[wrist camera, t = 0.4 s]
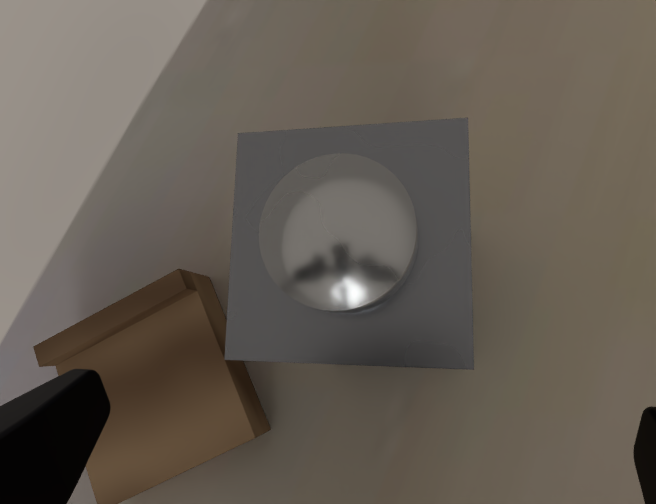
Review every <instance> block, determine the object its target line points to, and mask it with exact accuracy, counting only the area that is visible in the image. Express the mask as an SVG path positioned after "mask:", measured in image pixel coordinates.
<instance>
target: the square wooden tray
mask: <svg viewBox="0 0 656 504" xmlns="http://www.w3.org/2000/svg"><path fill="white" fill-rule="evenodd" d="M226 325H227V320H226V318H225V315H224V313H223V310H222V308H221V305H220V303H219V300H218V298H217V296H216V293H215V291H214V288H213V286H212V283H211V281H210V278H209V277H207V276H204V275H200V274H196V273H193V272H189V271H185V270H181V269H177V270H175V271H174V272H172V273H170V274H168V275H166V276H164V277H162V278H161V279H159V280H157V281H155V282H153V283H151V284H149V285H148V286H146V287H144V288H142V289H140V290H138V291H136V292H134V293H133V294H131V295H129V296H127V297H125V298H123V299H121V300H120V301H118V302H116V303H114V304H112V305H110V306H108V307H106V308H105V309H103V310H101V311H99V312H97V313H95V314H93V315H92V316H90V317H88V318H86V319H84V320H82V321H80V322H79V323H77V324H75V325H73V326H71V327H69V328H67V329H65V330H64V331H62V332H60V333H58V334H56V335H54V336H52V337H51V338H49V339H47V340H45V341H43V342H41V343H39V344H37V345H36V346H34V351H35V354H36V358H37V361H38V364H39V367H43V366H56V369H57V372H58V375H59V376H60V375H62V374H64V373H66V372H68V371H70V370H72V369H91V370H95V371H96V372H97V373H98V374H99V375H100V377H101V380H102V382H103V385H104V388H105V390H106V393H107V396H108V398H109V401H110V406H111V409H110V414H109V417H108V420H107V422H106V424H105V426H104V428H103V430H102V432H101V434H100V437H99V439H98V441H97V443H96V445H95V447H94V449H93V451H92V453H91V455H90V458H89V460H88V462H87V464H86V468H87V471H88V475H89V478H90V481H91V485H92V488H93V491H94V495H95V498H96V501H97V504H118V503H120V502H122V501H124V500H126V499H128V498H131V497H133V496H135V495H137V494H139V493H141V492H143V491H145V490H147V489H149V488H151V487H154V486H156V485H158V484H160V483H162V482H164V481H166V480H168V479H170V478H172V477H174V476H177V475H179V474H181V473H183V472H185V471H187V470H189V469H191V468H193V467H195V466H197V465H200V464H202V463H204V462H206V461H208V460H210V459H212V458H214V457H216V456H218V455H220V454H223V453H225V452H227V451H229V450H231V449H233V448H235V447H237V446H239V445H241V444H243V443H246V442H248V441H250V440H252V439H254V438H256V437H258V436H260V435H262V434H263V433H265V432H267V431H269V430H271V429H270V426H269V424H268V421H267V419H266V416H265V414H264V411H263V409H262V406H261V404H260V402H259V399H258V397H257V394H256V392H255V389H254V387H253V384H252V382H251V379H250V377H249V374H248V372H247V369H246V367H245V365H244V362H243V361H241V360H224V358H225V341H226Z"/></svg>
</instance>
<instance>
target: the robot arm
mask: <svg viewBox="0 0 656 504" xmlns="http://www.w3.org/2000/svg"><path fill="white" fill-rule="evenodd" d="M110 409H111V406H110V401H109V398H108V396H107V393H106V390H105V388H104V385H103V382H102V380H101V377H100V375H99V374H98V373H97V372H96V371H95V370H91V369H72V370H70V371H68V372H66V373H64V374H62V375H60V376H58V377H56V378H54V379H52V380H50V381H48V382H46V383H44V384H43V385H41V386H39V387H37V388H35V389H33V390H31V391H29V392H27V393H25V394H23V395H21V396H19V397H17V398H15V399H13V400H11V401H9V402H7V403H5V404H3V405H2V406H0V504H67V502H68V500H69V498H70V497H71V495H72V493H73V491H74V489H75V487H76V485H77V483H78V481H79V479H80V477H81V474H82V472H83V470H84V468H85V466H86V464H87V462H88V460H89V458H90V455H91V453H92V451H93V449H94V447H95V445H96V443H97V441H98V439H99V437H100V434H101V432H102V430H103V428H104V426H105V424H106V422H107V420H108V417H109V414H110ZM634 462H635V466H636V470H637V474H638V478H639V482H640V486H641V489H642V493H643V497H644V501H645V504H656V407H648V408H646V409H645V410H644V411H643V414H642V417H641V421H640V425H639V429H638V433H637V437H636V441H635V445H634Z"/></svg>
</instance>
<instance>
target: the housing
mask: <svg viewBox="0 0 656 504" xmlns="http://www.w3.org/2000/svg"><path fill="white" fill-rule="evenodd" d="M224 360H241V361H267V362H293V363H318V364H344V365H369V366H395V367H420V368H446V369H472V370H474V352H473V310H472V268H471V226H470V183H469V141H468V118H456V119H442V120H427V121H412V122H398V123H383V124H368V125H354V126H339V127H324V128H310V129H295V130H280V131H266V132H251V133H238V142H237V159H236V175H235V192H234V209H233V225H232V242H231V258H230V275H229V292H228V308H227V325H226V341H225V358H224Z"/></svg>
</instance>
